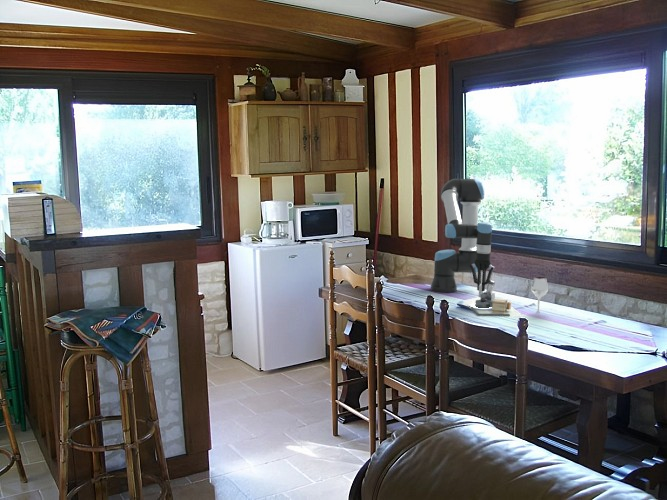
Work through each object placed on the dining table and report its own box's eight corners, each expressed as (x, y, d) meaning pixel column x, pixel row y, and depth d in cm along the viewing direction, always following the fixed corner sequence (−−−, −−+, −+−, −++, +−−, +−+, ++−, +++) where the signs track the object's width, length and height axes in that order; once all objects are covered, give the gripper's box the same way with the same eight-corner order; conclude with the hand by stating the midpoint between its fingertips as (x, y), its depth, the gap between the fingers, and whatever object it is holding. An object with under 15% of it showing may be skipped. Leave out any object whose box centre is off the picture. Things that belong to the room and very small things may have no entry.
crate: (494, 309, 354) (495, 298, 353) (506, 311, 351) (507, 299, 350) (492, 312, 348) (492, 300, 348) (504, 313, 346) (504, 301, 345)
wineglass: (526, 312, 351) (528, 277, 348) (534, 310, 357) (536, 275, 354) (541, 315, 345) (544, 280, 343) (549, 313, 351) (551, 278, 349)
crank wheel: (481, 302, 369) (482, 291, 368) (515, 306, 360) (515, 295, 359) (473, 307, 357) (473, 296, 356) (507, 311, 348) (508, 300, 347)
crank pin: (485, 297, 365) (489, 279, 363) (490, 299, 364) (495, 281, 361) (483, 298, 363) (488, 280, 360) (489, 300, 361) (494, 282, 359)
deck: (465, 304, 369) (465, 301, 368) (508, 304, 369) (508, 302, 369) (477, 317, 340) (477, 314, 340) (524, 317, 340) (524, 314, 340)
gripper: (468, 252, 361) (466, 296, 365) (493, 254, 355) (490, 299, 359) (473, 250, 368) (470, 294, 371) (497, 252, 362) (494, 297, 365)
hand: (480, 296), depth 365 cm, fingers closed
